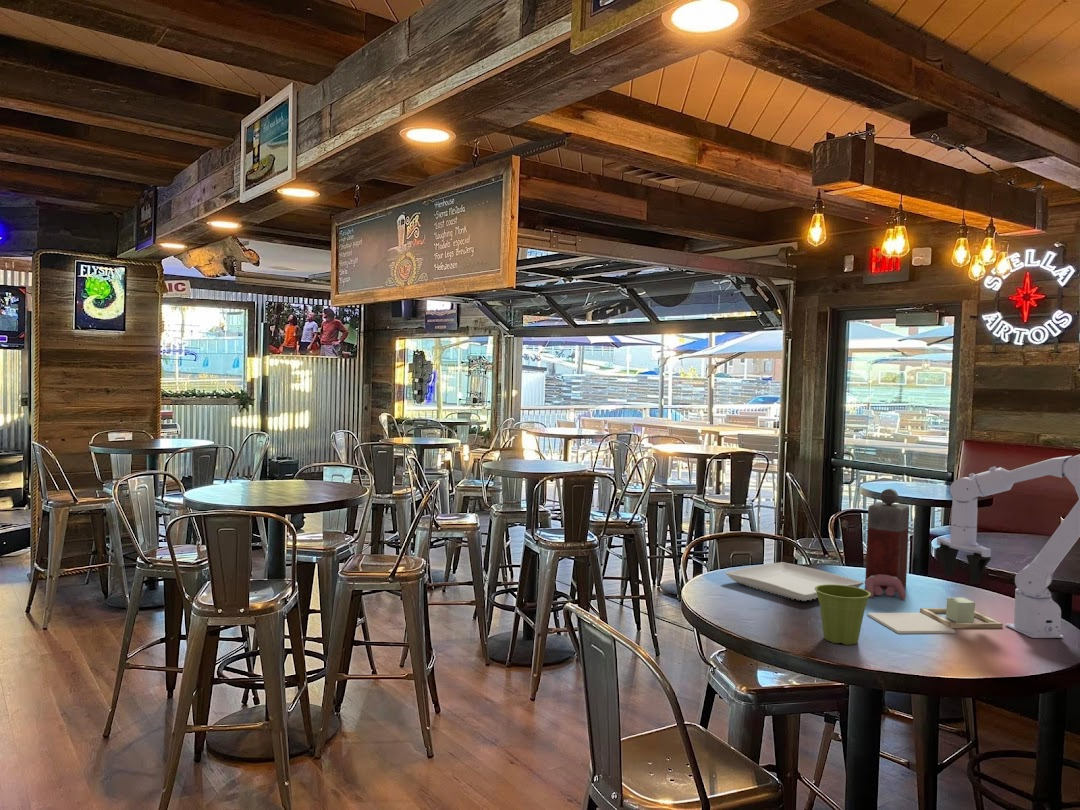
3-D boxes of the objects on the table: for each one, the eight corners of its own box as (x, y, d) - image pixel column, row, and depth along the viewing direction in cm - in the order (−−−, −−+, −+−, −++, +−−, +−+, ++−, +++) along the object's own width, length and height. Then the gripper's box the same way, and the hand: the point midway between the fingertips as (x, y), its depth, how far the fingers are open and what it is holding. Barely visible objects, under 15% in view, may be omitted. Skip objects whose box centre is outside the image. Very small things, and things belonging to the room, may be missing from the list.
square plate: (805, 608, 204) (806, 593, 204) (722, 584, 226) (723, 571, 225) (864, 593, 220) (865, 579, 220) (781, 572, 242) (782, 559, 242)
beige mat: (954, 633, 185) (954, 630, 185) (898, 633, 184) (898, 630, 184) (920, 614, 199) (920, 612, 199) (867, 615, 198) (867, 612, 198)
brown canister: (908, 584, 229) (912, 488, 228) (898, 592, 220) (902, 492, 219) (876, 579, 235) (879, 485, 234) (864, 586, 226) (868, 488, 225)
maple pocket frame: (1002, 627, 190) (1002, 623, 190) (951, 628, 189) (951, 624, 189) (967, 611, 203) (968, 607, 203) (920, 611, 202) (920, 608, 202)
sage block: (974, 622, 194) (975, 602, 194) (957, 622, 194) (958, 602, 193) (962, 617, 198) (963, 597, 198) (946, 617, 198) (947, 597, 198)
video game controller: (902, 602, 216) (898, 576, 219) (907, 599, 212) (904, 573, 215) (864, 600, 217) (861, 575, 220) (869, 597, 213) (866, 571, 216)
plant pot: (876, 640, 179) (878, 590, 178) (857, 653, 170) (859, 601, 169) (825, 628, 186) (826, 580, 186) (804, 639, 178) (805, 590, 177)
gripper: (1001, 530, 192) (999, 585, 192) (952, 519, 206) (950, 571, 206) (979, 531, 190) (976, 587, 190) (931, 520, 203) (929, 573, 204)
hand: (961, 579), depth 198 cm, fingers open, 7 cm apart
